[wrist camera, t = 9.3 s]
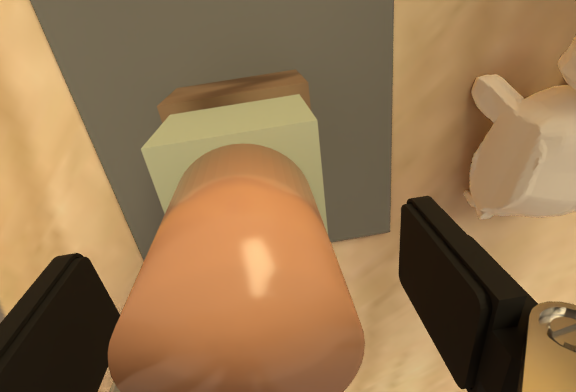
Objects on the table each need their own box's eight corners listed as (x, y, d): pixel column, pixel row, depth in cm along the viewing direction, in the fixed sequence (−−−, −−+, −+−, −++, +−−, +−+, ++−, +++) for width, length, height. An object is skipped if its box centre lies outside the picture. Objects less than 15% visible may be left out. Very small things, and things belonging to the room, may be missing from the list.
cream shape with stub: (523, 160, 30) (671, -40, 18) (589, 239, 24) (860, 26, 13) (431, 167, 29) (525, -35, 18) (478, 250, 24) (658, 36, 12)
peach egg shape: (305, 132, 12) (362, 243, 6) (318, 251, 15) (366, 412, 9) (155, 155, 12) (59, 294, 6) (195, 272, 15) (156, 451, 9)
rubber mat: (392, -68, 18) (395, -70, 18) (388, 229, 28) (390, 232, 27) (27, -15, 18) (23, -16, 17) (150, 270, 27) (149, 273, 27)
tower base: (295, 69, 21) (308, 82, 16) (308, 176, 24) (321, 211, 20) (176, 88, 20) (156, 106, 16) (206, 193, 24) (197, 232, 20)
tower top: (299, 94, 17) (317, 119, 12) (312, 205, 20) (330, 258, 15) (169, 114, 16) (140, 148, 12) (203, 223, 19) (189, 282, 15)
